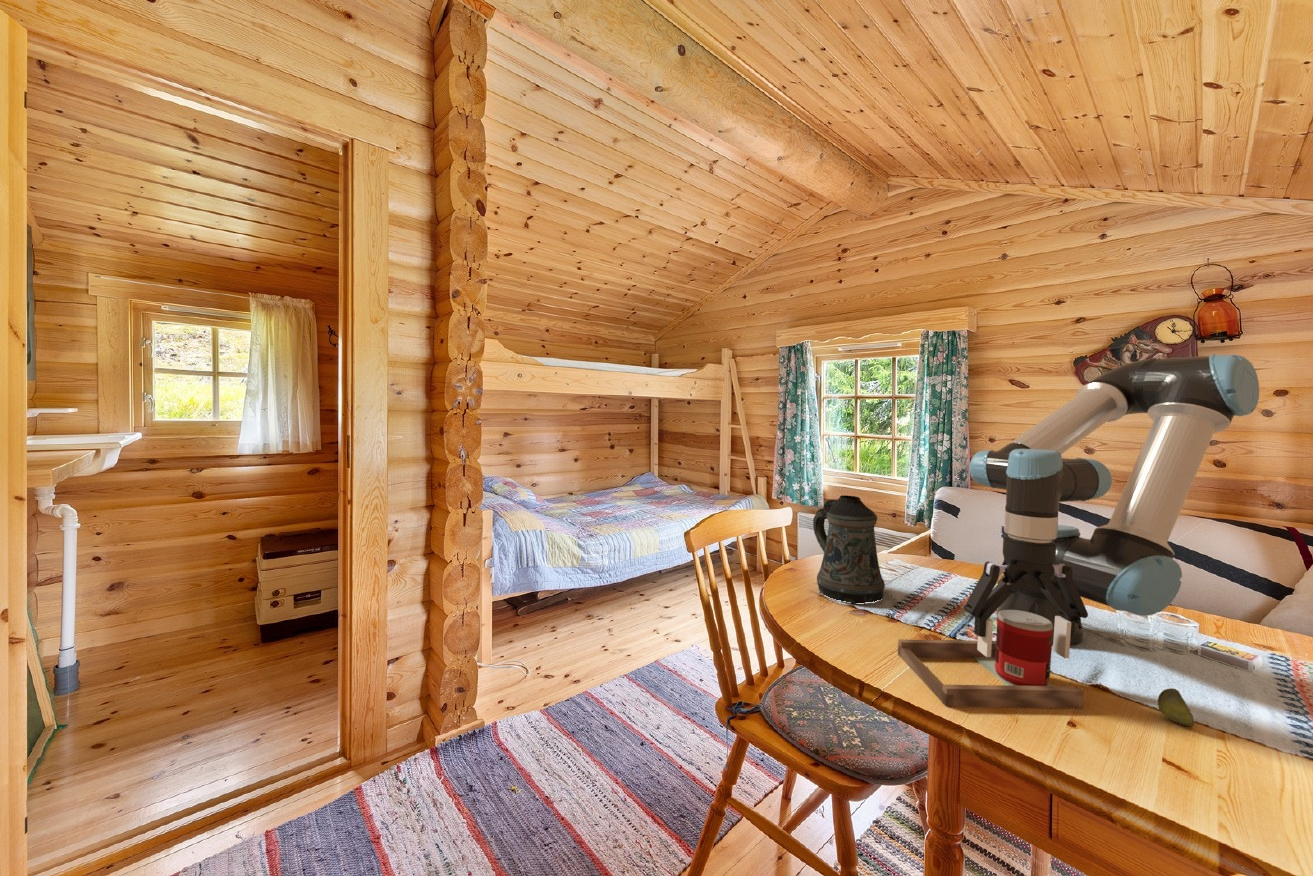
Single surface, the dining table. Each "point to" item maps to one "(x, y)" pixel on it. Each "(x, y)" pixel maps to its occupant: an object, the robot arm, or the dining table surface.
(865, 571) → the beer stein
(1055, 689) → the bay
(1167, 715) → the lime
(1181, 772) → the dining table surface
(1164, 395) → the robot arm
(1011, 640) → the canned food
